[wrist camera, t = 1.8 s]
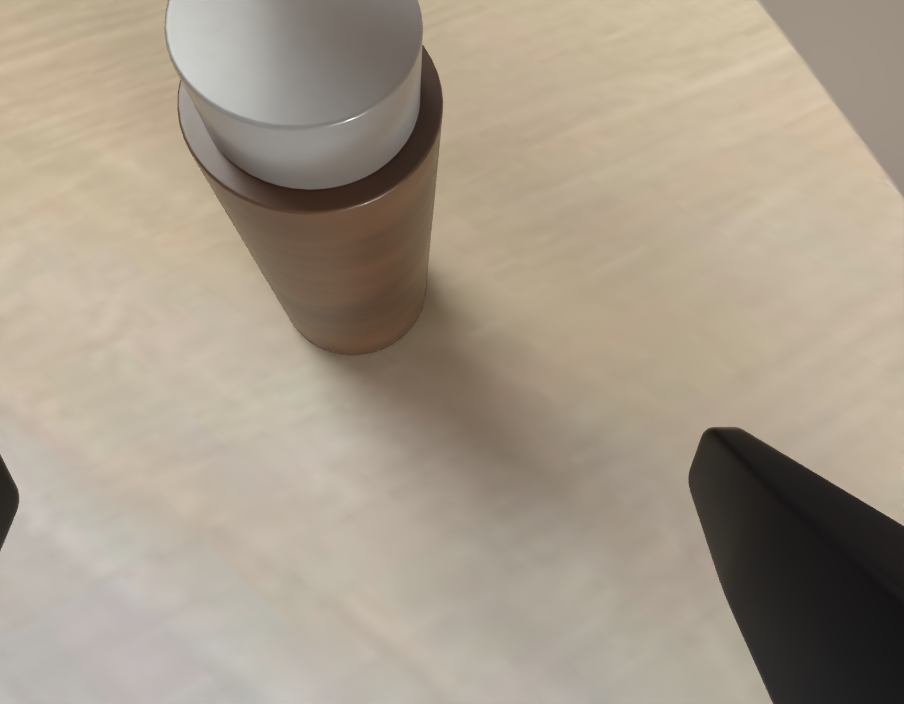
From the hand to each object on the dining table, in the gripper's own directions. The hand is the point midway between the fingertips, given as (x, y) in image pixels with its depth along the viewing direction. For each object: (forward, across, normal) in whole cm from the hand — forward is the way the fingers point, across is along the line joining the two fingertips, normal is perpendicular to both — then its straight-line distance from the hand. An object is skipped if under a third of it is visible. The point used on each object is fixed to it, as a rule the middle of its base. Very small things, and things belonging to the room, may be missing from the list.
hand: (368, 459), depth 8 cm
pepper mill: (+15, +1, +5) cm, 16 cm away
